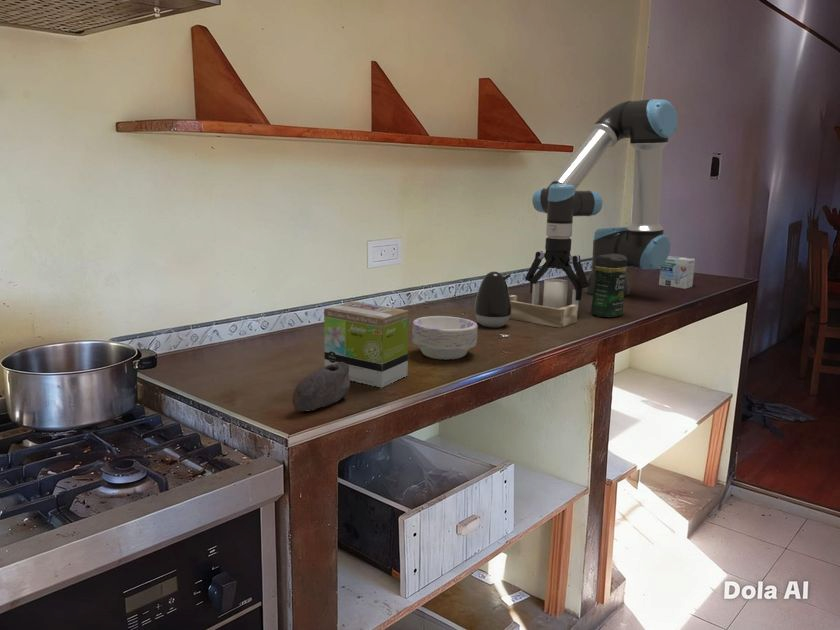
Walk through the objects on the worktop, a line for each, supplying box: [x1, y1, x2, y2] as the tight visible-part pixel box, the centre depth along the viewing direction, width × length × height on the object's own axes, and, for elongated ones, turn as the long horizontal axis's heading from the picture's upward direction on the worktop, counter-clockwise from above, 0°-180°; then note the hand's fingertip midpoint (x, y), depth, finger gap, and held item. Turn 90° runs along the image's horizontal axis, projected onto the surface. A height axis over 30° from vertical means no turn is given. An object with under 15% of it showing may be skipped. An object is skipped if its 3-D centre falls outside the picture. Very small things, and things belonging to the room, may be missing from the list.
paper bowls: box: [411, 315, 479, 361], centre depth 164 cm, size 15×15×8 cm
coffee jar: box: [590, 254, 628, 318], centre depth 210 cm, size 10×8×19 cm
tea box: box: [323, 300, 410, 388], centre depth 145 cm, size 15×10×15 cm, turn 58°
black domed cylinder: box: [473, 271, 511, 329], centre depth 194 cm, size 10×10×15 cm
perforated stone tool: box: [292, 362, 351, 412], centre depth 129 cm, size 15×5×7 cm, turn 146°
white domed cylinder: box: [542, 278, 569, 308], centre depth 212 cm, size 7×7×10 cm
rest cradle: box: [509, 294, 579, 329], centre depth 204 cm, size 10×22×5 cm, turn 50°
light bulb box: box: [658, 255, 696, 289], centre depth 264 cm, size 11×7×11 cm, turn 49°
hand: (554, 307), depth 213 cm, fingers open, 13 cm apart
